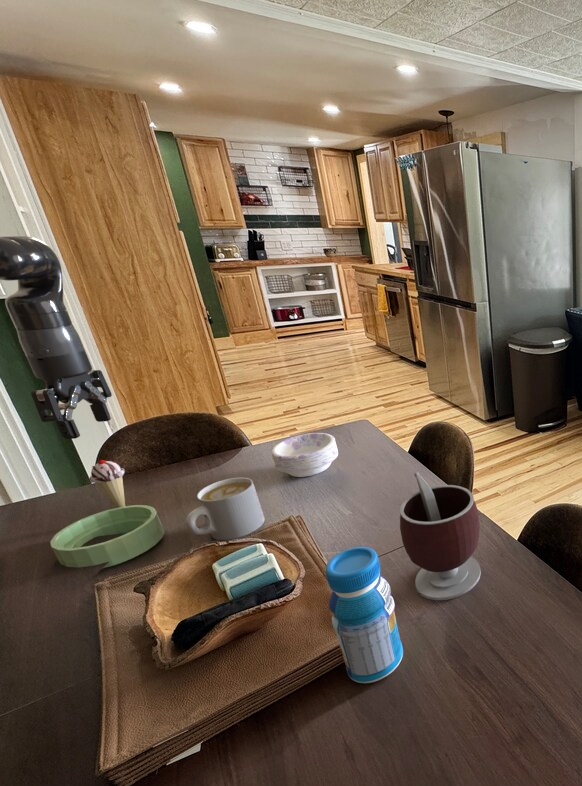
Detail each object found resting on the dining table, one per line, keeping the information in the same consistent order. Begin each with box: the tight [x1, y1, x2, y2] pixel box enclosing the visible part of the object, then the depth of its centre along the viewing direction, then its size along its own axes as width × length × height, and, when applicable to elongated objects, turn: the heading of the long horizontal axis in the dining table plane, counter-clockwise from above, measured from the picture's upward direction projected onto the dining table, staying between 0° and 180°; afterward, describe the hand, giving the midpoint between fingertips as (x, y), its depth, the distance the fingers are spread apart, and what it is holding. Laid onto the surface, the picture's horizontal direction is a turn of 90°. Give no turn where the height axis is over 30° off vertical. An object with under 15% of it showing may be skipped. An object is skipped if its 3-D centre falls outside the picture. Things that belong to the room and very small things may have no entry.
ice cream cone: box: [88, 459, 126, 508], centre depth 108 cm, size 6×6×15 cm
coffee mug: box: [185, 477, 266, 541], centre depth 104 cm, size 13×10×10 cm
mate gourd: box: [399, 471, 482, 601], centre depth 89 cm, size 16×14×20 cm
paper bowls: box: [271, 432, 339, 478], centre depth 131 cm, size 15×15×8 cm
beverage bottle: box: [325, 546, 404, 684], centre depth 71 cm, size 8×8×20 cm
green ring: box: [49, 504, 166, 569], centre depth 99 cm, size 16×16×6 cm
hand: (88, 429), depth 95 cm, fingers open, 8 cm apart
